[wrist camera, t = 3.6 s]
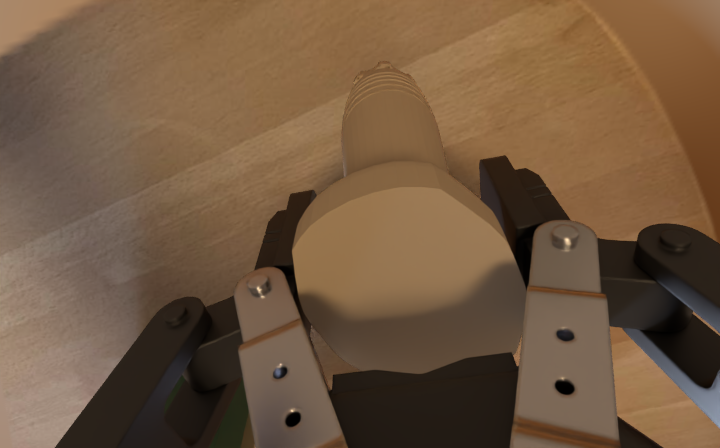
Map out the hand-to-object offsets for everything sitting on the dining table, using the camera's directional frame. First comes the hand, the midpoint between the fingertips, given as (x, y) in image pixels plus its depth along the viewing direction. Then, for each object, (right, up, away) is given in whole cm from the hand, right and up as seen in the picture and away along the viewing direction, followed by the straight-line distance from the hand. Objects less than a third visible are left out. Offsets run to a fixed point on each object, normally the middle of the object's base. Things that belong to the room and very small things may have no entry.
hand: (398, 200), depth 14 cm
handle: (0, +6, +9) cm, 11 cm away
